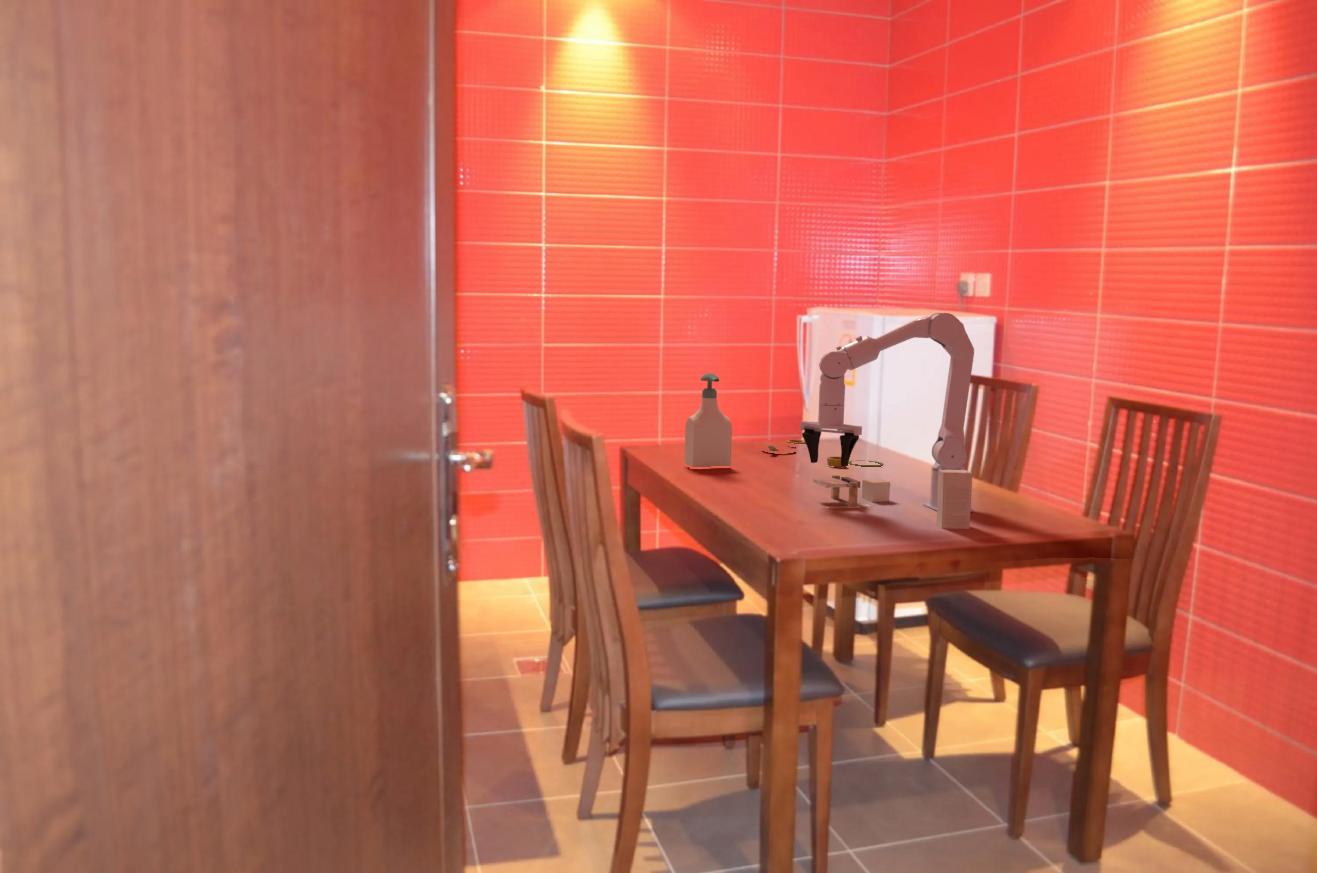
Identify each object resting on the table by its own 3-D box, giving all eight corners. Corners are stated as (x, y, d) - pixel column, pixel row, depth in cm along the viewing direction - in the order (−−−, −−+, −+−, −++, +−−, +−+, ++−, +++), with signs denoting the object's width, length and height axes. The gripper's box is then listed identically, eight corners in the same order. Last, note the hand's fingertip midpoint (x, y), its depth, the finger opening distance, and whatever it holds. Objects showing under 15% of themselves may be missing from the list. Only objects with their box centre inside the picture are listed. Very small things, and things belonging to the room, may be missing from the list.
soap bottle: (695, 478, 279) (697, 374, 275) (684, 473, 286) (686, 372, 283) (733, 476, 282) (736, 374, 279) (721, 472, 290) (724, 372, 287)
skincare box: (963, 525, 223) (966, 469, 222) (970, 529, 219) (973, 472, 217) (934, 525, 223) (938, 469, 221) (940, 529, 218) (944, 472, 217)
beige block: (889, 505, 245) (890, 482, 245) (871, 506, 244) (873, 482, 243) (878, 501, 250) (879, 478, 249) (861, 502, 248) (862, 479, 247)
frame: (851, 501, 249) (852, 474, 248) (872, 510, 238) (873, 482, 238) (807, 502, 246) (808, 475, 246) (826, 511, 236) (828, 483, 235)
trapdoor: (846, 482, 246) (846, 476, 246) (861, 488, 239) (861, 482, 239) (812, 483, 244) (813, 477, 244) (826, 489, 237) (826, 482, 236)
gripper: (868, 405, 238) (866, 465, 239) (811, 401, 246) (808, 459, 248) (855, 407, 232) (852, 468, 234) (796, 403, 241) (794, 462, 242)
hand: (829, 464), depth 240 cm, fingers open, 7 cm apart
